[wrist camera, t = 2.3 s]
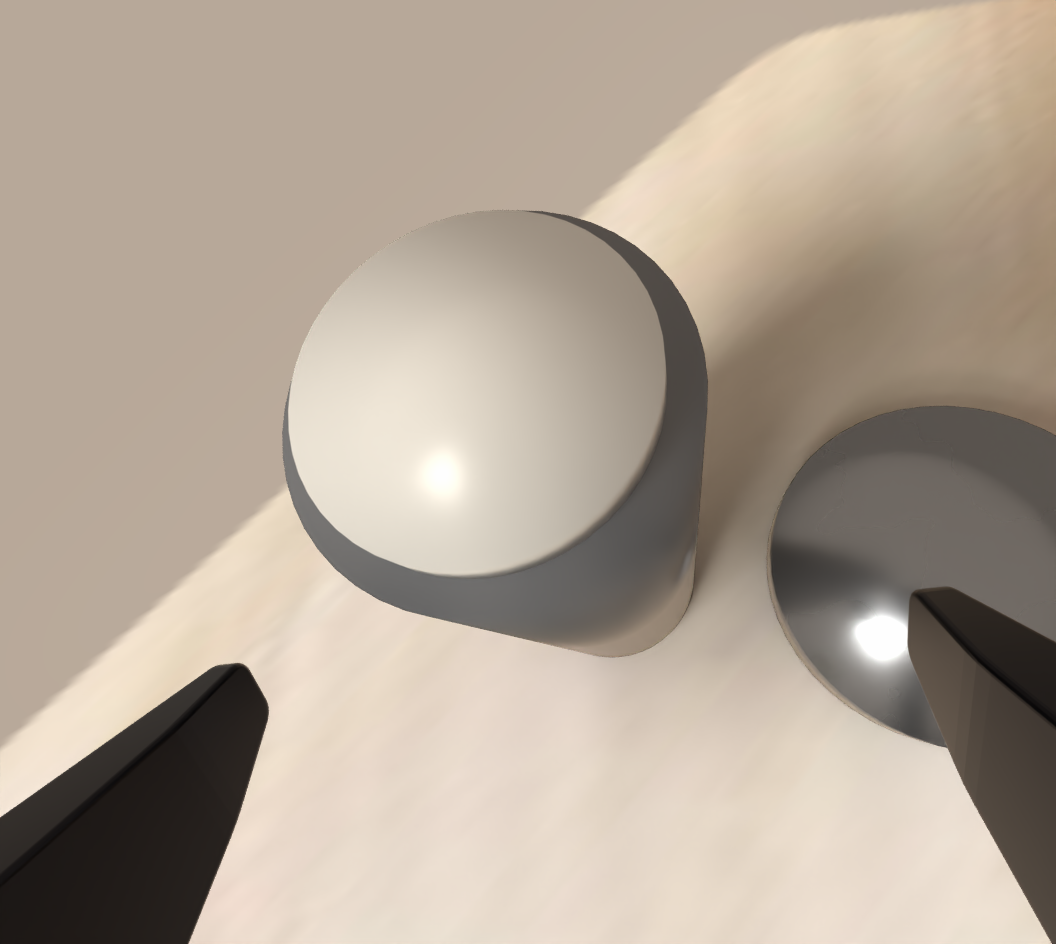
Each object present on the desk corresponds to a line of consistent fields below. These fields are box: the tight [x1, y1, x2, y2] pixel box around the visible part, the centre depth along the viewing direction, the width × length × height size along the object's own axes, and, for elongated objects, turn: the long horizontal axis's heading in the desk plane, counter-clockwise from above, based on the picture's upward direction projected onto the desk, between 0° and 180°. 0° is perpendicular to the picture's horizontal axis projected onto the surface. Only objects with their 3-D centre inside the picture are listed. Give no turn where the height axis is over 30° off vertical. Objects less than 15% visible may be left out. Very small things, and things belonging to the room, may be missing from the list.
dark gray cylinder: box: [282, 210, 708, 657], centre depth 13 cm, size 5×5×13 cm
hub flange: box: [767, 406, 1056, 748], centre depth 16 cm, size 9×8×1 cm
